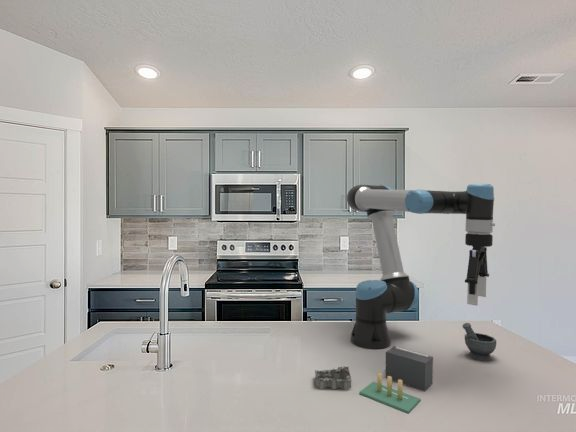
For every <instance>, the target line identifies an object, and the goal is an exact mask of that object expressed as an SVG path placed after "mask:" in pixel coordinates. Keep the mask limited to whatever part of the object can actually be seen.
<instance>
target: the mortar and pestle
mask: <svg viewBox="0 0 576 432" xmlns="http://www.w3.org/2000/svg"><path fill="white" fill-rule="evenodd" d="M462 329H464V331H465V333H466V334H464V342H465V345H466V347H467V348H468V350H469V351H470V352H469V355H470V357H471V358H472V359H475V360H479V361H489V360H490V359H491V354H492V353H494V352H495V350H496V347H497V339H496V338H495V337H494V336H491V335H488V334H485V333H478V332H475V331H474V330H473V328H472V325H471V323H470V322H465V323H463V324H462Z"/></svg>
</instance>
